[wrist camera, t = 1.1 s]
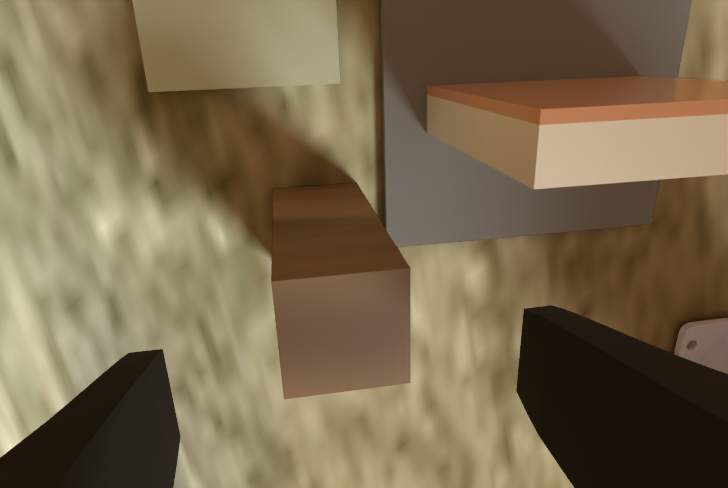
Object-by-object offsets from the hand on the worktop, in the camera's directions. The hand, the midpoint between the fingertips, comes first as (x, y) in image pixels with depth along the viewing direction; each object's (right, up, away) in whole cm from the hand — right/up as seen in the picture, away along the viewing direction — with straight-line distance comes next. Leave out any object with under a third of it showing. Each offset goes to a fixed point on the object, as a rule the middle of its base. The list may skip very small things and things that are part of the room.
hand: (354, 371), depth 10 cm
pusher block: (-2, +3, +9) cm, 9 cm away
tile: (+6, +8, +8) cm, 13 cm away
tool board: (-4, +11, +6) cm, 13 cm away
